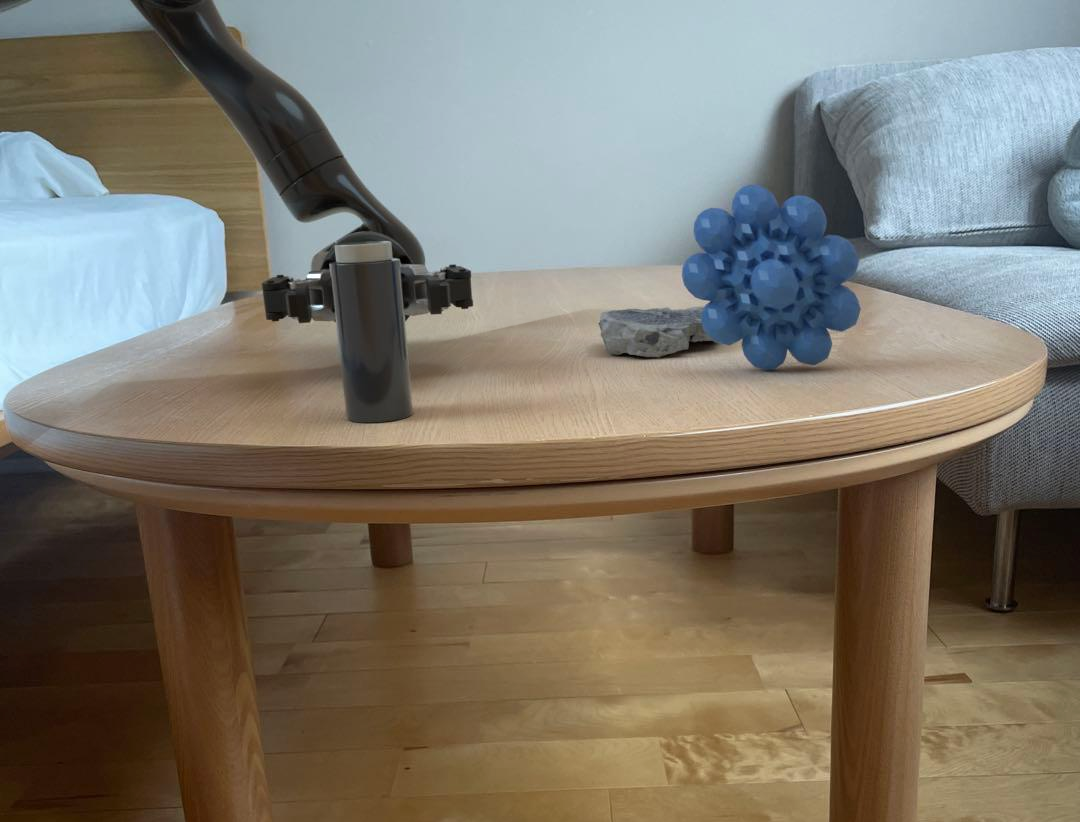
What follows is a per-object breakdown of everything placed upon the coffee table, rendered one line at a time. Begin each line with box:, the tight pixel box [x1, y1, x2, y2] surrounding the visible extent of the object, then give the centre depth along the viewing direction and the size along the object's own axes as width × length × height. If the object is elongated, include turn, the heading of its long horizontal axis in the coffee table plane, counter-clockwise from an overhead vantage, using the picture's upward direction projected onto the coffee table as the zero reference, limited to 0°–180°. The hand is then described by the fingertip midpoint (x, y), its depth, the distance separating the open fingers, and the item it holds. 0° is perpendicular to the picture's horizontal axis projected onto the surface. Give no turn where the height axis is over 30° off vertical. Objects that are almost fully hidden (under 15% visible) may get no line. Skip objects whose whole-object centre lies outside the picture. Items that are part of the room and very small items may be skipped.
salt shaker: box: [329, 241, 414, 424], centre depth 61 cm, size 4×4×10 cm
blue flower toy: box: [681, 184, 862, 371], centre depth 68 cm, size 12×7×12 cm, turn 82°
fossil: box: [598, 306, 714, 358], centre depth 82 cm, size 11×4×10 cm
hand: (369, 302), depth 67 cm, fingers open, 8 cm apart
